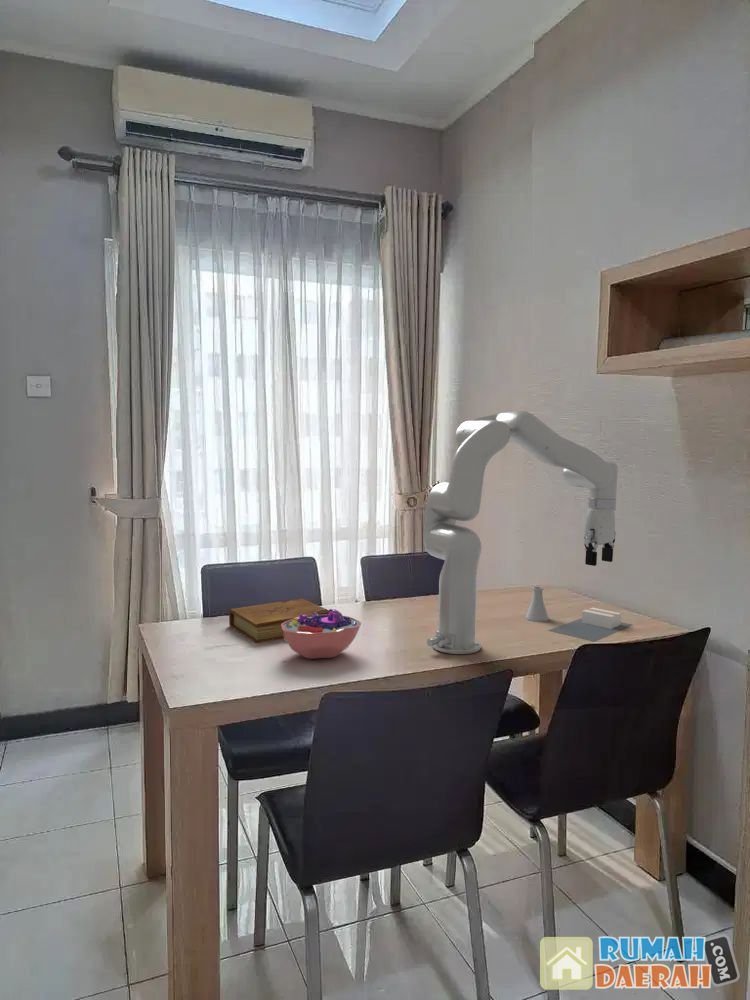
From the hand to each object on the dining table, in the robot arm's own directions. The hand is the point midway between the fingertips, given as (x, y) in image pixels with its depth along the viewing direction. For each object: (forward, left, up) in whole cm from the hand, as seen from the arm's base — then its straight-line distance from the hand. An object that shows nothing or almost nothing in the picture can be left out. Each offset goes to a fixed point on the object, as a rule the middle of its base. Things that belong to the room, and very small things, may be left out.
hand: (599, 563), depth 199 cm
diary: (-70, +60, -19) cm, 94 cm away
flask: (-8, +15, -19) cm, 25 cm away
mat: (-5, -1, -19) cm, 19 cm away
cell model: (-77, +34, -19) cm, 86 cm away
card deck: (+1, -1, -18) cm, 18 cm away
